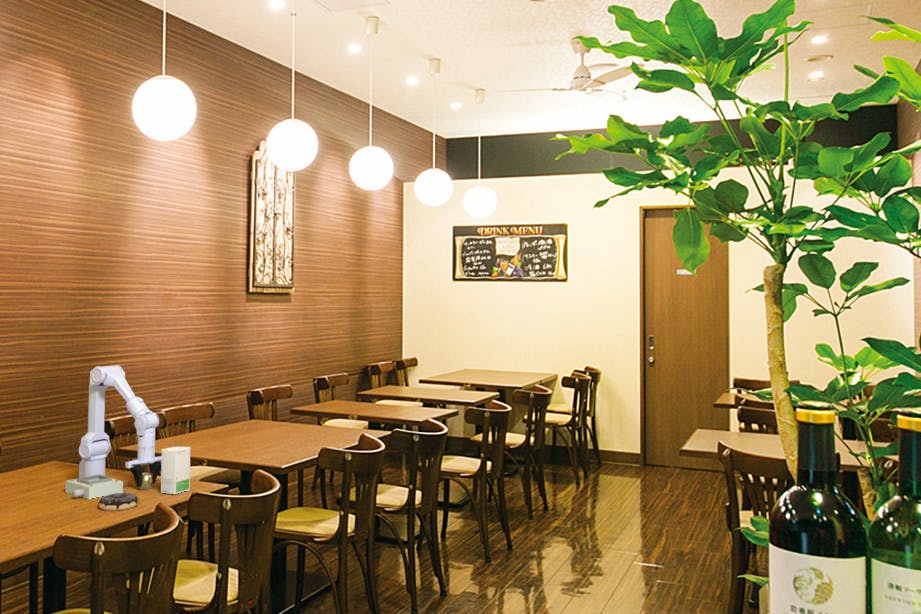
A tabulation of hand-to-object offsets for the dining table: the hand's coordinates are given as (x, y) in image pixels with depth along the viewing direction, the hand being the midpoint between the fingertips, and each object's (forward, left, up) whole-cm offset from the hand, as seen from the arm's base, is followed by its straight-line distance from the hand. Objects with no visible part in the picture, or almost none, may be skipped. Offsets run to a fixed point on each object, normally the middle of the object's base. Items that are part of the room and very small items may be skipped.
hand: (145, 484), depth 263 cm
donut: (+16, -19, -2) cm, 25 cm away
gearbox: (-9, -16, -1) cm, 18 cm away
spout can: (0, 0, -2) cm, 2 cm away
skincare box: (+12, +4, -2) cm, 13 cm away
